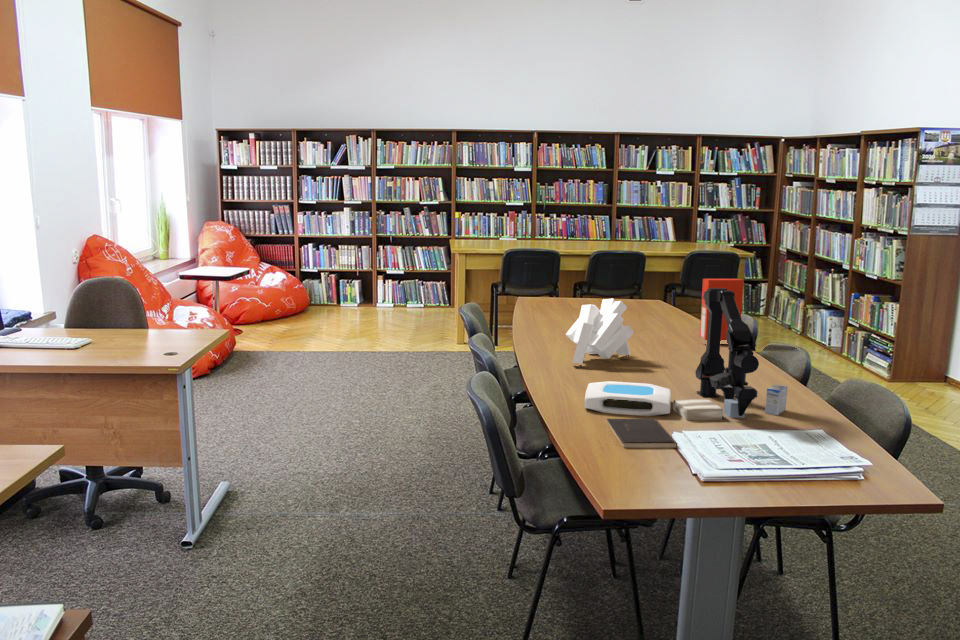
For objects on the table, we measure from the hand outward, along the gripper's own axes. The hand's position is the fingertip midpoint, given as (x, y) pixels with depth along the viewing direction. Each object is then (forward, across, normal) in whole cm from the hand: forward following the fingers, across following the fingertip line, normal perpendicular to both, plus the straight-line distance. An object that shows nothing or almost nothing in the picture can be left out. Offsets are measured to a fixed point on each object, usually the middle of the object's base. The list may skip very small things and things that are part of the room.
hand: (734, 411), depth 252 cm
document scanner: (+2, -14, -32) cm, 35 cm away
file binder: (+2, -121, +48) cm, 130 cm away
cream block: (+2, -2, -12) cm, 12 cm away
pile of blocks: (+2, -86, -22) cm, 89 cm away
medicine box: (+2, -3, +16) cm, 16 cm away
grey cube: (+1, 0, 0) cm, 1 cm away
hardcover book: (+2, +18, -38) cm, 42 cm away
